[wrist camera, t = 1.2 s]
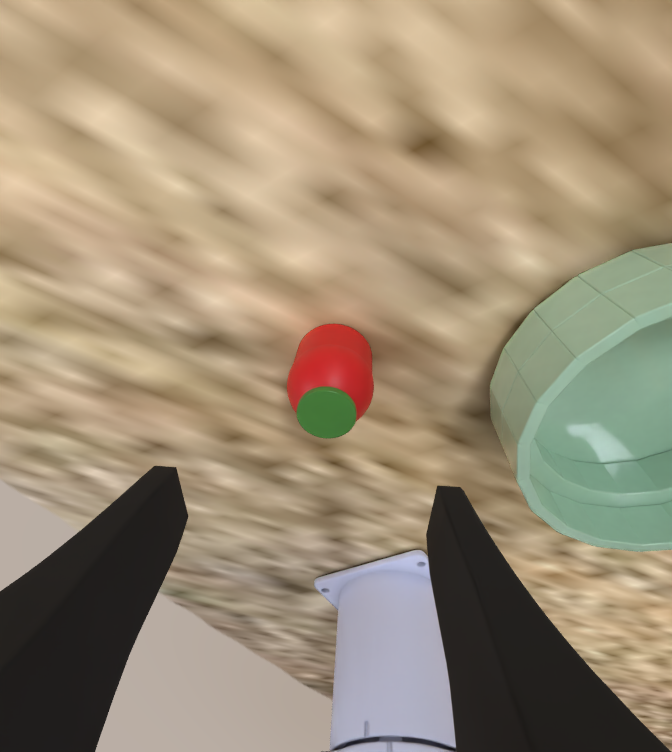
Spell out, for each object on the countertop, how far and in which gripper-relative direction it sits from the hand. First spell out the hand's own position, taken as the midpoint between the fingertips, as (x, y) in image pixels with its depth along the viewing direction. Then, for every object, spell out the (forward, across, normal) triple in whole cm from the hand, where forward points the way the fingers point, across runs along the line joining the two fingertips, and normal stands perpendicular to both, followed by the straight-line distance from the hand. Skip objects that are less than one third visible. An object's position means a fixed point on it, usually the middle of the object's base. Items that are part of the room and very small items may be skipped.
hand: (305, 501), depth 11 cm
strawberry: (+8, 0, 0) cm, 8 cm away
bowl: (+8, -13, 0) cm, 16 cm away
